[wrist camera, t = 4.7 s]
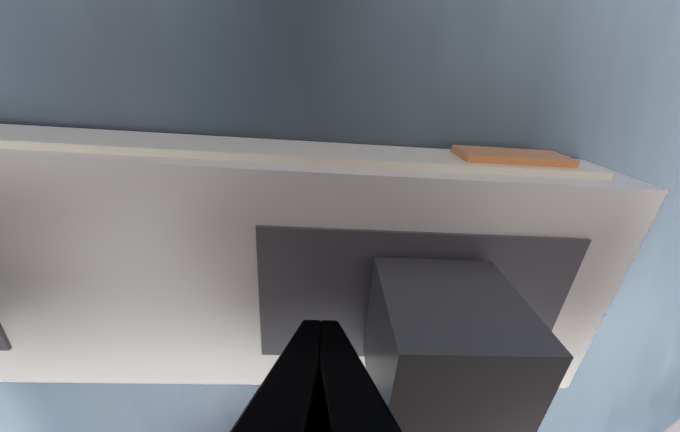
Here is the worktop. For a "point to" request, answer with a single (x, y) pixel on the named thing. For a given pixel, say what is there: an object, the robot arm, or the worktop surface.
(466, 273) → the outer tab
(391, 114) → the worktop surface
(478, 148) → the switch bank
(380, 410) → the robot arm
